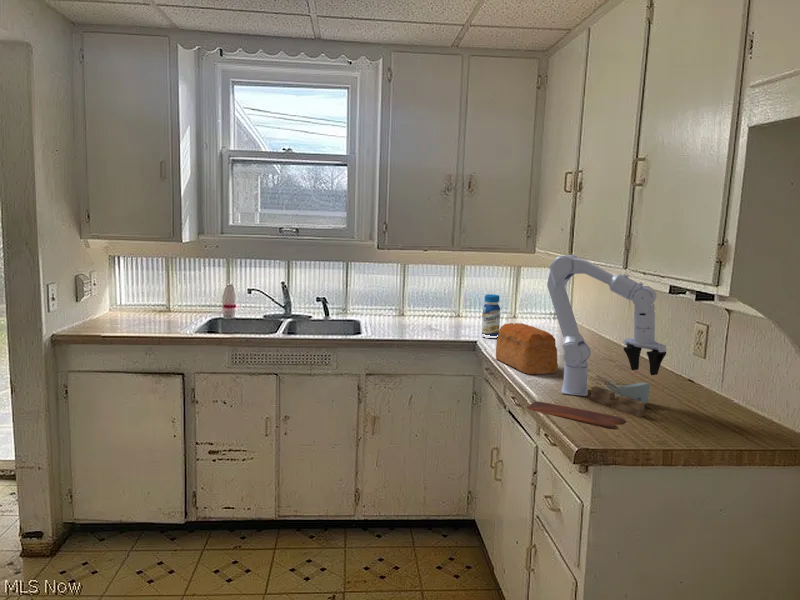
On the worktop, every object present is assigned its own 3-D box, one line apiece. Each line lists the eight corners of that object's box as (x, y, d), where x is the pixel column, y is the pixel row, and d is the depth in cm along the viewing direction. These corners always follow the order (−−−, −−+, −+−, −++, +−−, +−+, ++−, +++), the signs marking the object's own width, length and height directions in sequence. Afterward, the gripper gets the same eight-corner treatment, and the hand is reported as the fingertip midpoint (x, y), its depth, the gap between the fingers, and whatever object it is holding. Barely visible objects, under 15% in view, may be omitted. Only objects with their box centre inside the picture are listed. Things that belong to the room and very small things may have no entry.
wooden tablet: (626, 422, 162) (627, 416, 162) (614, 432, 154) (615, 426, 154) (537, 402, 178) (537, 396, 178) (522, 410, 170) (522, 404, 170)
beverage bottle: (499, 336, 277) (501, 294, 275) (499, 339, 269) (501, 296, 266) (481, 335, 279) (483, 293, 276) (480, 338, 271) (482, 295, 268)
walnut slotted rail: (590, 399, 180) (591, 386, 180) (595, 398, 181) (596, 386, 181) (638, 417, 165) (639, 403, 164) (643, 416, 165) (644, 402, 165)
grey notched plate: (624, 407, 173) (626, 387, 172) (619, 405, 175) (620, 385, 174) (648, 403, 178) (649, 384, 177) (642, 401, 180) (644, 382, 179)
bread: (523, 357, 236) (525, 320, 234) (560, 373, 211) (563, 332, 209) (491, 358, 232) (493, 321, 230) (526, 376, 207) (528, 334, 205)
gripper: (674, 329, 169) (673, 375, 170) (636, 323, 182) (636, 366, 184) (655, 331, 166) (655, 378, 168) (618, 325, 180) (618, 368, 181)
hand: (644, 372), depth 176 cm, fingers open, 7 cm apart
